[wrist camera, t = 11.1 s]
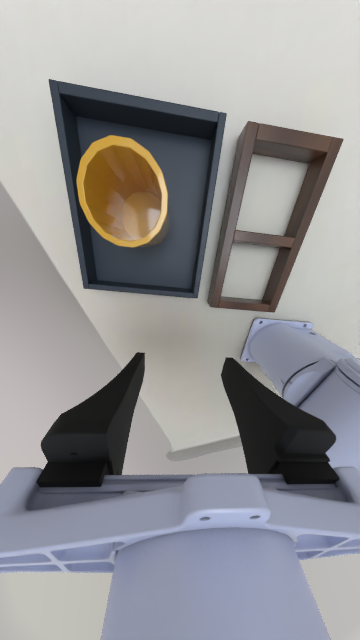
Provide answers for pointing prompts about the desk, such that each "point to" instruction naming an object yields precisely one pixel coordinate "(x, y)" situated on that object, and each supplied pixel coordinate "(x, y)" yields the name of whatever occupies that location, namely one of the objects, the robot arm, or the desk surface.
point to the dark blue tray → (179, 174)
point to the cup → (123, 193)
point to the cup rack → (321, 160)
